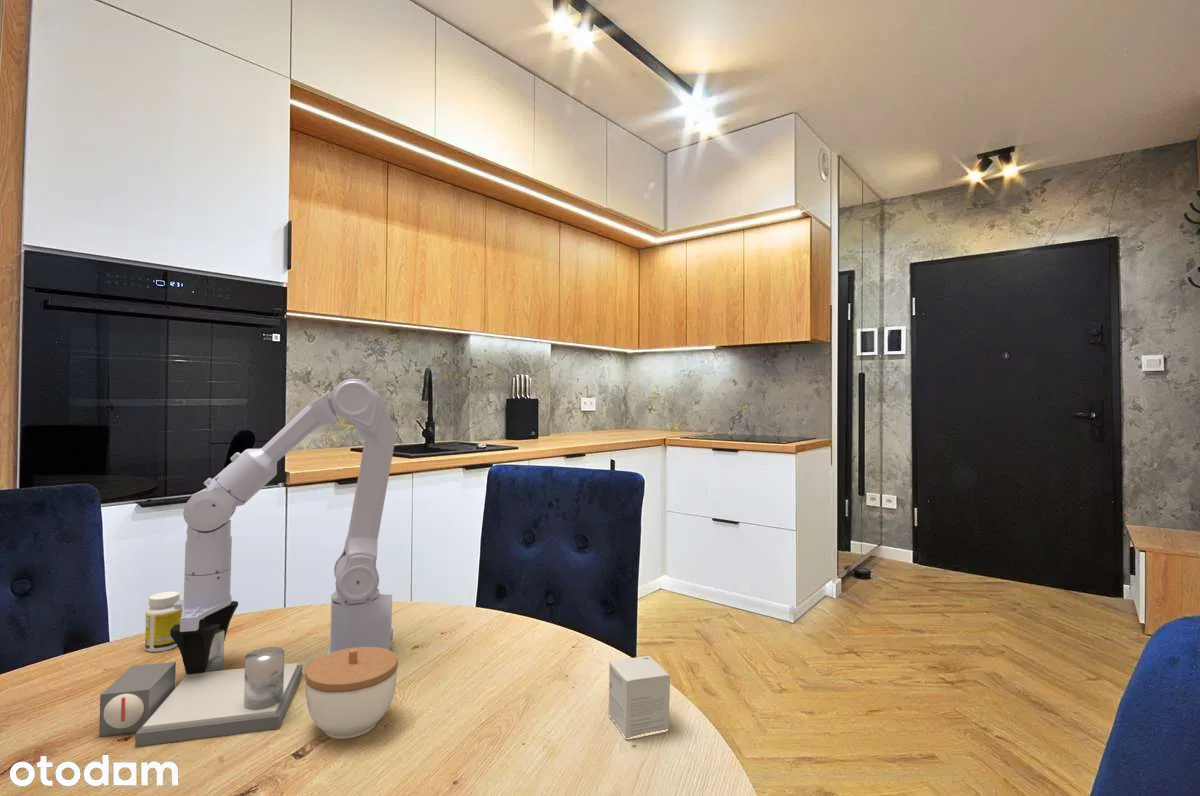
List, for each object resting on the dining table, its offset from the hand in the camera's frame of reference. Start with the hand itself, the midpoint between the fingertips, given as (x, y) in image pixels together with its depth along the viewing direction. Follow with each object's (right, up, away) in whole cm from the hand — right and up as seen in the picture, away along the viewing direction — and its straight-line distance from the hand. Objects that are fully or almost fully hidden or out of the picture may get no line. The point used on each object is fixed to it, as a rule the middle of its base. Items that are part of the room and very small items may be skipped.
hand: (205, 663), depth 86 cm
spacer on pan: (+15, 0, -11) cm, 18 cm away
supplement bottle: (-13, -2, +10) cm, 17 cm away
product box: (+63, -3, -11) cm, 64 cm away
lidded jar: (+27, -2, -13) cm, 30 cm away
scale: (+7, -2, -9) cm, 12 cm away
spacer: (0, -2, 0) cm, 2 cm away
